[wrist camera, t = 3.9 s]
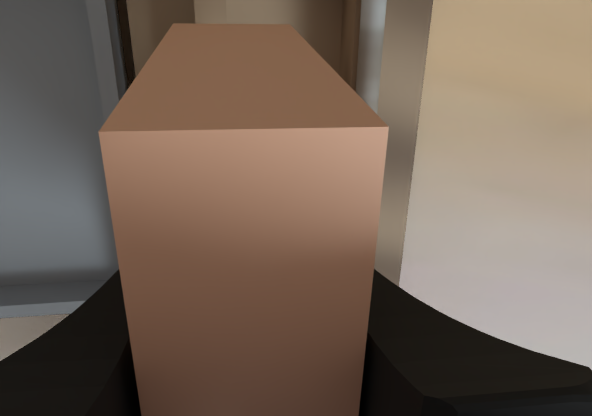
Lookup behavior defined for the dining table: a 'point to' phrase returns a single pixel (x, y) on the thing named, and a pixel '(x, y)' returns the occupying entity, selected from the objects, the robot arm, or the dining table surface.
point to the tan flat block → (244, 224)
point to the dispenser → (344, 60)
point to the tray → (56, 151)
